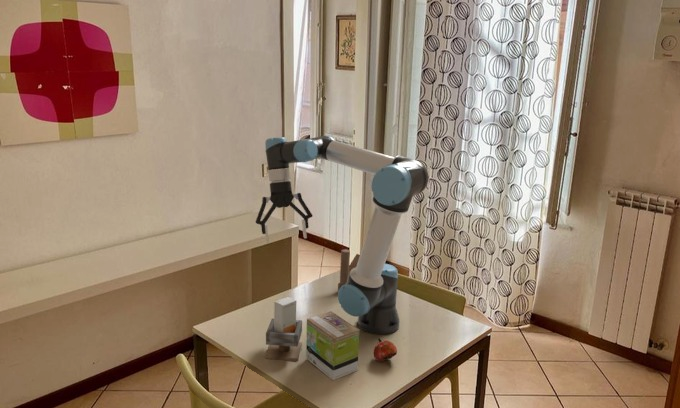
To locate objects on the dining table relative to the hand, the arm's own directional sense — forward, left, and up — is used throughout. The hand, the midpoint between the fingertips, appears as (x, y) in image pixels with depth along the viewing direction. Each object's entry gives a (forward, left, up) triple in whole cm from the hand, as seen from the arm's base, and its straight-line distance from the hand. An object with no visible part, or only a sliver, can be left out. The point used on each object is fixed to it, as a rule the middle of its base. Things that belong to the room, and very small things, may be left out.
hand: (286, 240), depth 197 cm
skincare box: (-4, +24, -24) cm, 35 cm away
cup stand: (-3, +25, -30) cm, 39 cm away
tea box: (-20, +31, -30) cm, 48 cm away
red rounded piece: (-37, +27, -30) cm, 54 cm away
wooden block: (-22, -28, -30) cm, 47 cm away
